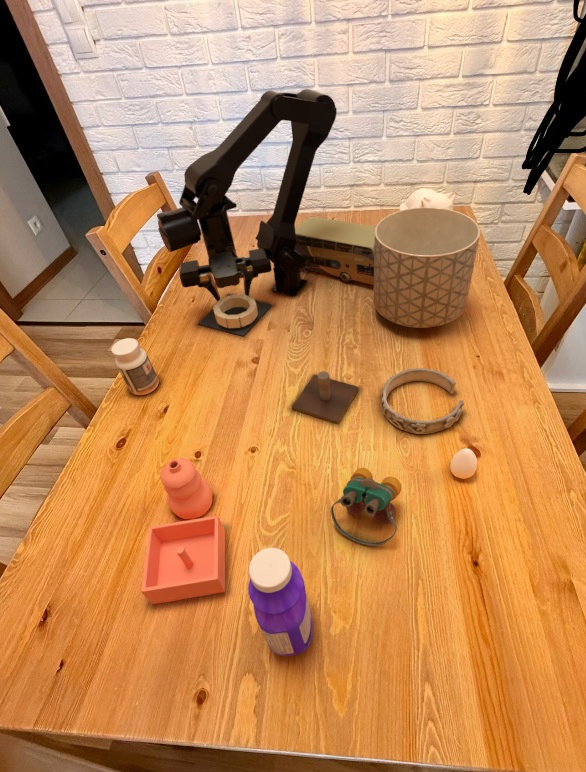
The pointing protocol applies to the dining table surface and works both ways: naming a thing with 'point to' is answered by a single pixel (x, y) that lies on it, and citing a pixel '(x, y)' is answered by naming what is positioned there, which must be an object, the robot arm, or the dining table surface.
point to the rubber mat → (242, 331)
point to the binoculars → (369, 500)
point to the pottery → (185, 541)
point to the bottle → (280, 602)
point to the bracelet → (415, 425)
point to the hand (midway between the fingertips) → (234, 301)
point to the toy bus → (337, 248)
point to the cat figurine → (429, 200)
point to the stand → (325, 398)
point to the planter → (424, 265)
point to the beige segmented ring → (235, 320)
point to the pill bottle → (135, 366)
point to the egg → (463, 463)
